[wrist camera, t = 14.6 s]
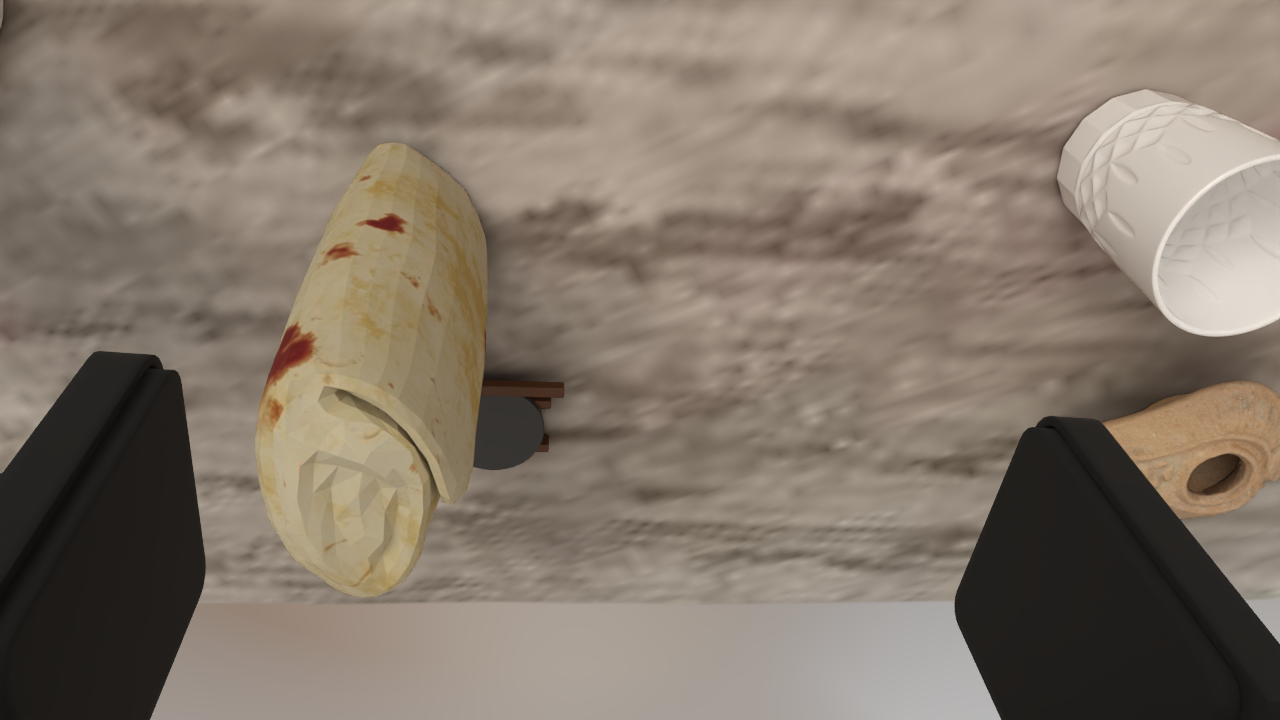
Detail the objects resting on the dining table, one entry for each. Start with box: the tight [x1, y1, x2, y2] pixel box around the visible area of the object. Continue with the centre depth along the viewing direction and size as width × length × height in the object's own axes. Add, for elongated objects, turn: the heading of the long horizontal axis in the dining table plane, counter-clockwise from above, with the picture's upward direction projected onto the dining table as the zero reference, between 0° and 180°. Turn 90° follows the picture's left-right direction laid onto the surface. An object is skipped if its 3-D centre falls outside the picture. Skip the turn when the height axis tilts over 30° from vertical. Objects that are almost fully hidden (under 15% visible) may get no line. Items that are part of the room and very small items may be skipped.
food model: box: [255, 142, 488, 598], centre depth 37 cm, size 10×7×20 cm
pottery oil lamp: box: [1101, 381, 1280, 519], centre depth 53 cm, size 9×12×7 cm
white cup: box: [1057, 89, 1280, 337], centre depth 43 cm, size 8×8×10 cm
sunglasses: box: [473, 380, 564, 470], centre depth 51 cm, size 14×5×1 cm, turn 85°
